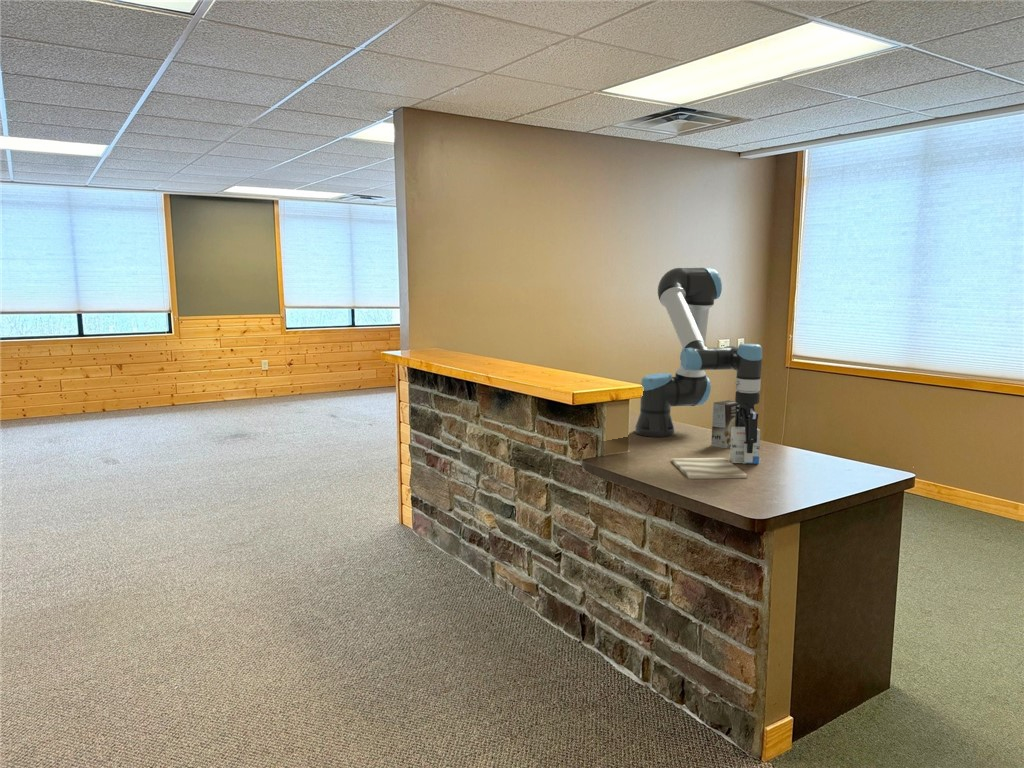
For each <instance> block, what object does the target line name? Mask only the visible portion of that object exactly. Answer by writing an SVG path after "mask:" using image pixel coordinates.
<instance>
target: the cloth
mask: <svg viewBox="0 0 1024 768" xmlns="http://www.w3.org/2000/svg"><path fill="white" fill-rule="evenodd" d="M670 459H671V461H670V462H671V463H672V464H674V466H675V467H676V468H678V470H680V471H681V473H683V475H685V476H686V477H687V478H688V479H691V480H692V479H693V480H695V479H697V480H699V479H700V480H701V479H747V478H748V475H747V473H745V472H744V471H743V470H741V469H740V468H739V467H737V466H736V464H735V465H734V464H733V463H732V462H731V461H730V460H728V459H726V458H725V457H690V458H689V457H683V458H681V457H679V458H670Z"/></svg>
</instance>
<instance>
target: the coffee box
mask: <svg viewBox="0 0 1024 768" xmlns="http://www.w3.org/2000/svg"><path fill="white" fill-rule="evenodd" d="M739 405H740V404H739V403H737V402H736V401H735V400H721V401H714V402H713V406H712V421H711V422H712V425H711V443H710V444H711V446H712V447H717V448H722V449H728V448H730V443H731V427H735V417H736V406H739Z"/></svg>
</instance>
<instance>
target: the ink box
mask: <svg viewBox="0 0 1024 768" xmlns="http://www.w3.org/2000/svg"><path fill="white" fill-rule="evenodd" d="M744 442H746V435H745V427H731V443H730V447H729V448H730V451H729V462H731V463H732V464H733V463H743V464H742V465H747V464H749V465H759V464H760V449H761V448H760V446H761V429H759V428H758V427H757V443H754V444H753V462H752V463H744Z"/></svg>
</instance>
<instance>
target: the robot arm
mask: <svg viewBox="0 0 1024 768" xmlns="http://www.w3.org/2000/svg"><path fill="white" fill-rule="evenodd" d="M722 285H723V284H722V279H721V276H720V274H719V272H718V270H716V269H714V268H710V267H676V268H675V267H674V268H673V269H670V270H668V271H667V272H666V273H664V274H663V276H662V277H661V278H660V280H659V282H658V286H657V296H658V297H657V298H658V300H659V303H660V304H661V306H663V307H665V309H666V311H667V314H668V317H669V319H670V321H671V323H672V326H673V328H674V330H675V333H676V336H677V338H678V340H679V343H680V345H681V352H680V356H679V360H680V365H679V368H677V369H676V370H675V375H674V376H673V375H672V374H671V373H668V372H658V373H650V374H648V375H647V374H646V375H645V376H643V377H642V379H641V381H640V382H641V383H640V386H641V385H642V386H643V387H644V391H643V396H642V397H641V396H640V404H639V405H640V407H639V409H640V413H639V416H638V418H637V421H636V424H635V428H634V433H635V434H637V435H640V436H645V437H651V438H652V437H655V438H658V437H659V438H664V437H665V438H666V437H671V436H673V435H675V426H674V422H673V419H672V416H671V409H672V407H688V406H689V407H696V406H702V405H704V404H705V403H706V402H707V401H708V400H709V397H710V395H711V389H712V388H711V387H712V386H711V381H710V379H709V377H708V376H707V373H706V371H711V370H715V371H718V370H720V371H722V370H728V371H729V370H732V371H733V370H735V371H736V380H735V381H734V384H735V389H736V391H735V396H734V397H735V398H734V399H735V400H734V401H736V402H737V403H739V404H740V405H739V406H736V417H735V427H745V435H746V442H744V463H752V462H753V444H754V443H757V428H758V420H759V413H758V412H756V410H755V409H756V408H755V405H758V404H759V403H760V395H761V393H760V391H761V380H762V377H761V376H762V366H763V365H762V364H763V363H762V362H763V347H762V346H761V344H758V343H740V344H738V347H737V346H734V345H731V346H728V345H727V346H724V347H707V343H706V340H707V330H708V320H709V314H710V313H709V312H710V308H712V307H713V306H714V304H715V300H717V299H719V298H720V296H721V294H722V289H723V287H722Z"/></svg>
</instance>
